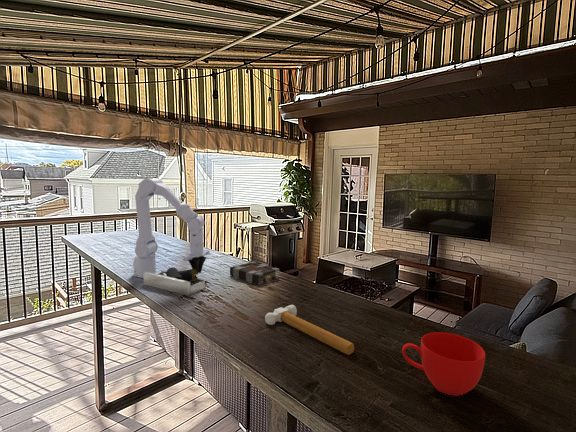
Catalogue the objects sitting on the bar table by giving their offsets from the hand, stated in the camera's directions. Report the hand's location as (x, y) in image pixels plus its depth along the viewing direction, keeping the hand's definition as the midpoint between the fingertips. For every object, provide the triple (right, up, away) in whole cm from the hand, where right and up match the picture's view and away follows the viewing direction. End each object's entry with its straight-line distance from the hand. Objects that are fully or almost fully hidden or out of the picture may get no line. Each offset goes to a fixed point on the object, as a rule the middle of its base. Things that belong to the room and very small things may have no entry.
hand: (197, 273), depth 151 cm
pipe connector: (-4, -3, -6) cm, 8 cm away
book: (+28, -3, +1) cm, 28 cm away
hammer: (+47, -10, -50) cm, 69 cm away
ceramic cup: (+75, -13, -74) cm, 106 cm away
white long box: (-6, -3, -11) cm, 13 cm away
